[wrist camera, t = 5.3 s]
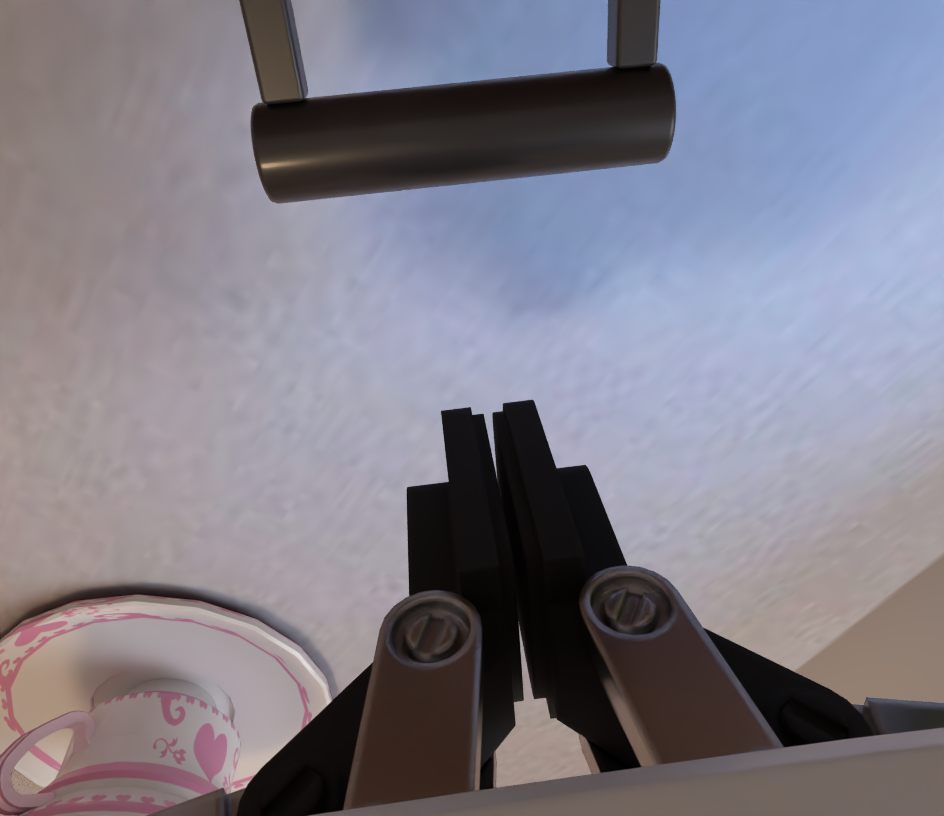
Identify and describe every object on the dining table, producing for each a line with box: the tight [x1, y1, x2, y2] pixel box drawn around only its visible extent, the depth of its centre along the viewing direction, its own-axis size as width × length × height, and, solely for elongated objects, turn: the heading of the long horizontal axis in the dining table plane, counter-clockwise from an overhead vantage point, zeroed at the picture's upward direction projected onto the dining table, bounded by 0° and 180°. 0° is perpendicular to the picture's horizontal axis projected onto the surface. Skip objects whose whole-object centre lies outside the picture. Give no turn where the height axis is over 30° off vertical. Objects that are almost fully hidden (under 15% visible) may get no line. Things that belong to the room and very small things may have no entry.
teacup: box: [0, 594, 333, 816], centre depth 22 cm, size 12×12×6 cm
